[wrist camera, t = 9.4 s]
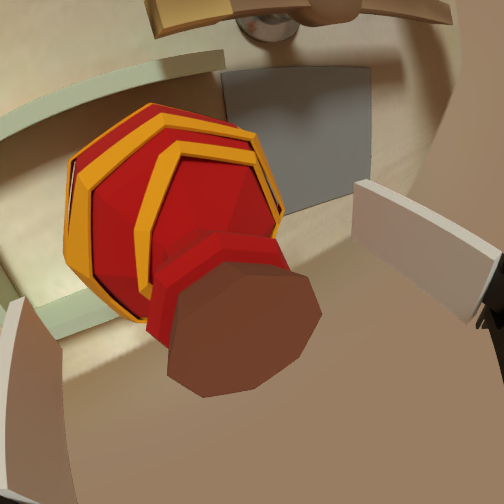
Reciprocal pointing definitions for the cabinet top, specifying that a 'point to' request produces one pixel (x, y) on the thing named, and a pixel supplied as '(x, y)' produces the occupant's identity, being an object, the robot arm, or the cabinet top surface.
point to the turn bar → (294, 4)
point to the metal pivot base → (269, 27)
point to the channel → (85, 301)
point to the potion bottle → (189, 246)
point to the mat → (306, 127)
